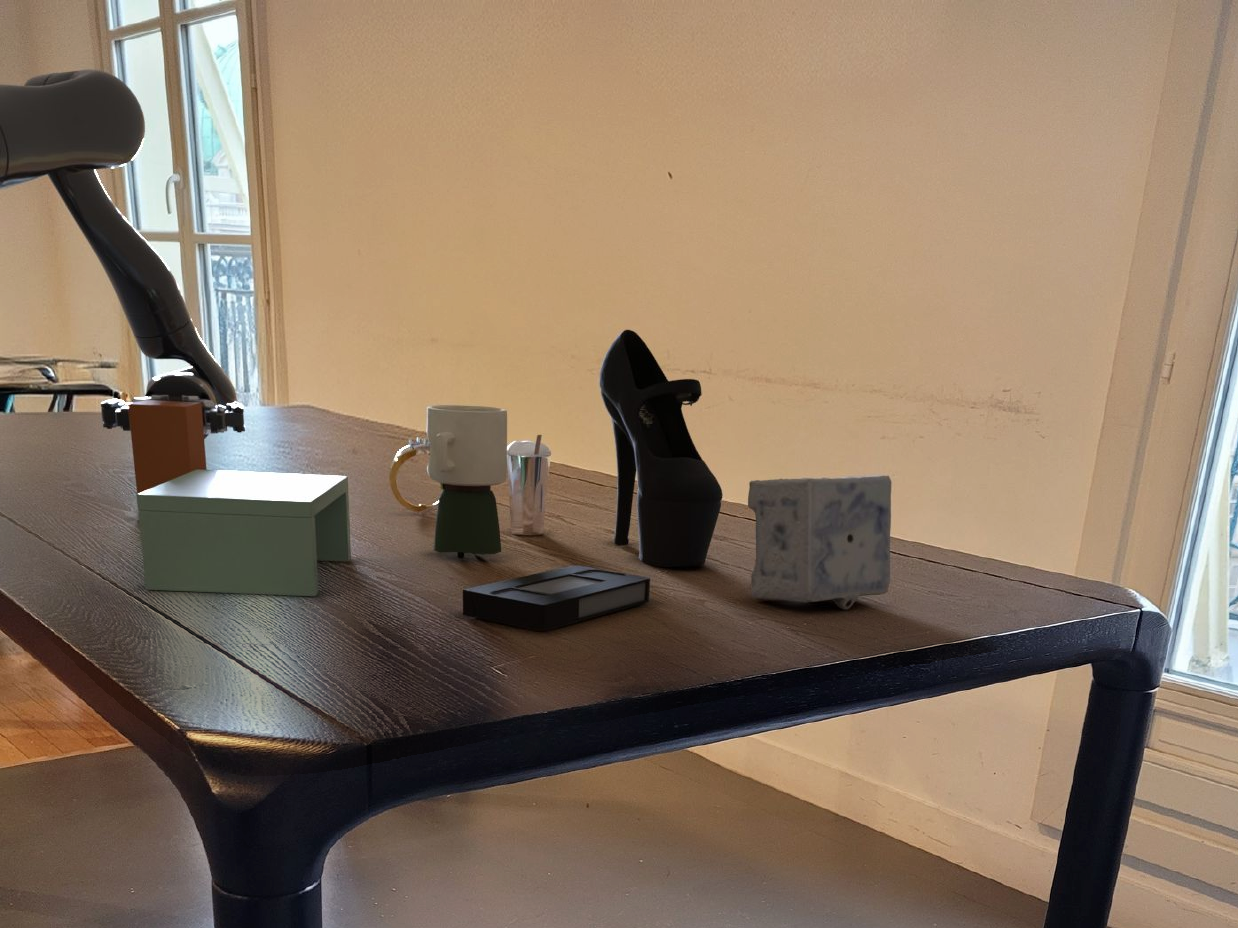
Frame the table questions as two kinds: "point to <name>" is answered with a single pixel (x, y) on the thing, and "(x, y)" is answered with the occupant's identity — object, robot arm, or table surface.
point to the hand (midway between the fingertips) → (170, 421)
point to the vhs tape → (555, 597)
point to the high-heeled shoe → (657, 458)
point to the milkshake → (528, 485)
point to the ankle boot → (165, 441)
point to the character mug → (467, 475)
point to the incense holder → (821, 538)
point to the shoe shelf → (243, 531)
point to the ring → (398, 460)
